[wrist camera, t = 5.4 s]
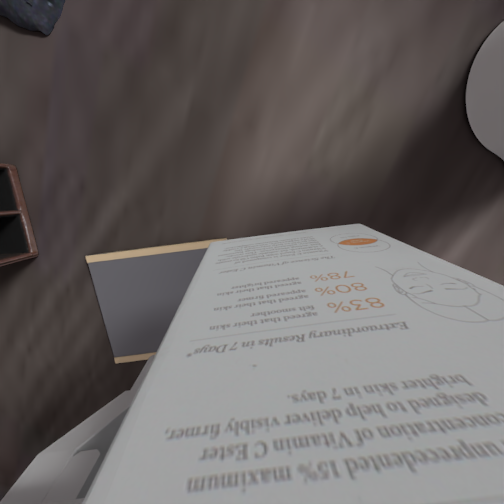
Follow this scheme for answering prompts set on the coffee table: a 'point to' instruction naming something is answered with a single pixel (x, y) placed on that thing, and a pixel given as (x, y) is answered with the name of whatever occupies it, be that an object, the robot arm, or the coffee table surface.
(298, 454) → the small box
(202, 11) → the coffee table surface
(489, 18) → the coffee table surface
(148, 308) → the mat
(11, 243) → the letter holder
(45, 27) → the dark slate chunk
